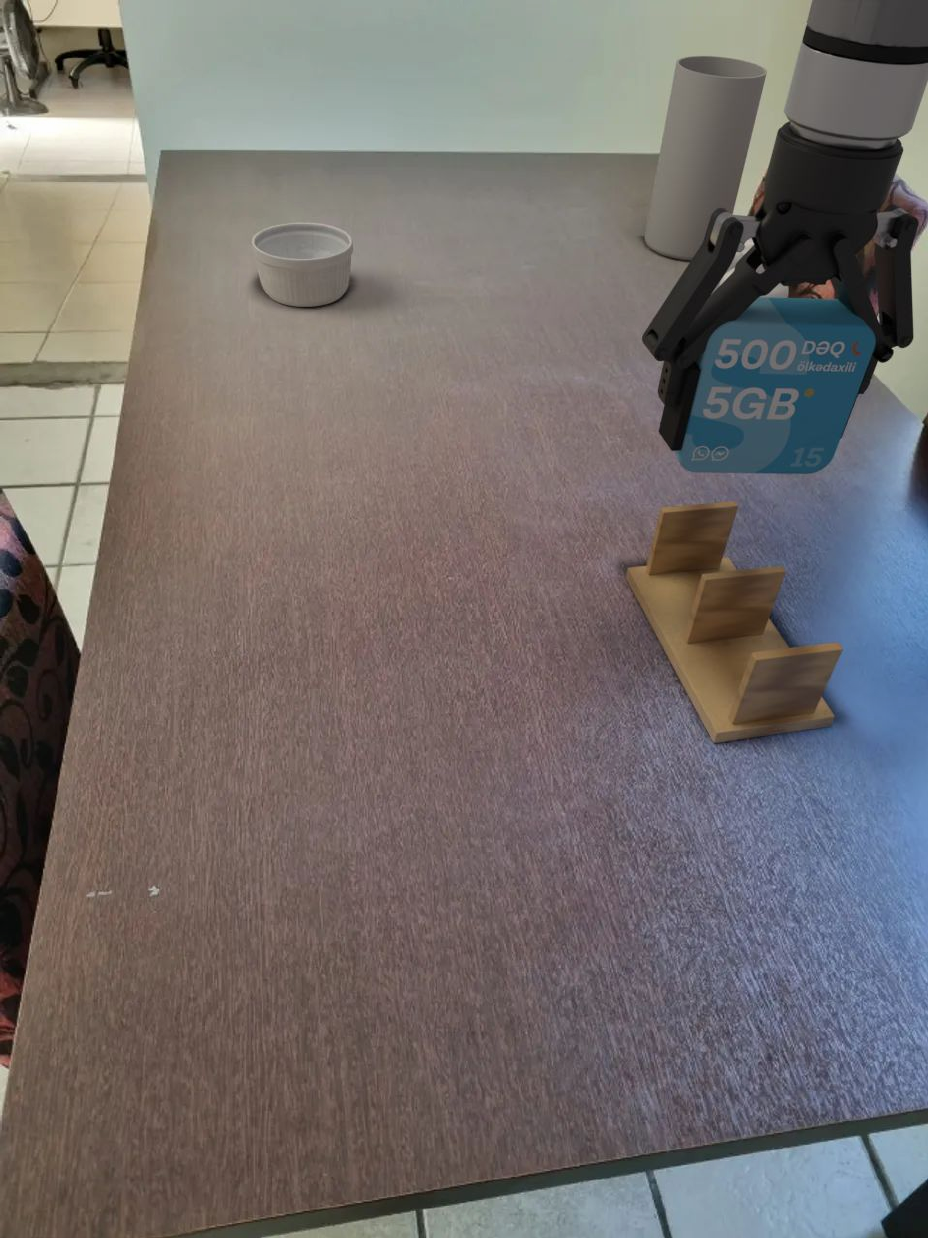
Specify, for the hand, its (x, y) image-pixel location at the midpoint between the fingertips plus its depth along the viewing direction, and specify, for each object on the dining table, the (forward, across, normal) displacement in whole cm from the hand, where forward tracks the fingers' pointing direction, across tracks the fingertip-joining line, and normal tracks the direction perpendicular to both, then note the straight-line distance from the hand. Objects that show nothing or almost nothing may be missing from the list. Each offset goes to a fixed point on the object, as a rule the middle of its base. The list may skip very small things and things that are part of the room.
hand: (750, 435), depth 72 cm
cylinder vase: (+18, -32, -81) cm, 89 cm away
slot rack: (+18, 0, +5) cm, 18 cm away
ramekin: (+18, +28, -70) cm, 78 cm away
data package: (+2, 0, 0) cm, 2 cm away
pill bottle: (+18, -22, -41) cm, 50 cm away
